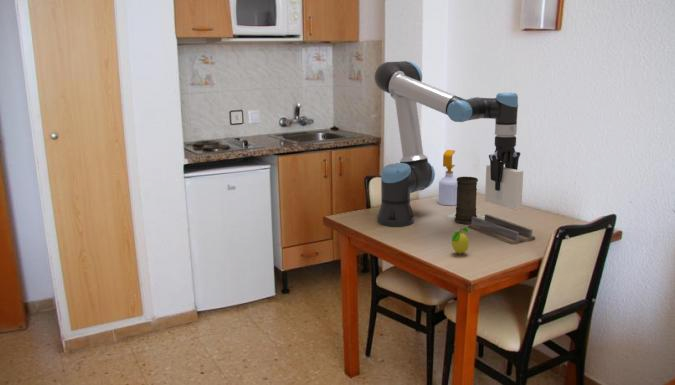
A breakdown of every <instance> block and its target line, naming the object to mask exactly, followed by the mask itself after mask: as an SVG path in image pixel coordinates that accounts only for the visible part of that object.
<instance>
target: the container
mask: <svg viewBox="0 0 675 385" xmlns="http://www.w3.org/2000/svg"><path fill="white" fill-rule="evenodd" d="M456 179H457V184H458V185H457V205H456V206H455V214H454V216H455V217H454V222H455V223H457V224H460V225H461V224H462V225H470V224H472V217H477V216H478V215H477V190H478V189H477V187H478V186H477V185H478V182H479V179H478V178H477V177H474V176H458V177H457V178H456ZM477 218H478V217H477Z"/></svg>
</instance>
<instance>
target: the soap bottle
mask: <svg viewBox="0 0 675 385" xmlns="http://www.w3.org/2000/svg"><path fill="white" fill-rule="evenodd" d="M455 152H456V150H455V149H447V150H446V151H445V152H444V153H443V156H442V167H446V169H447V170H446V171H445V176H444V177H441V179H439V181H438V201H437V202H438V203H439V205H442V206H448V207H449V206H450V207H451V206H457V185H458V184H457V178H456V177H455V176H454V171H453V170H452V169H453V168H454V167H455V166H456V165H455V164H453V155H454V154H455Z"/></svg>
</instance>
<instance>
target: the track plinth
mask: <svg viewBox="0 0 675 385" xmlns="http://www.w3.org/2000/svg"><path fill="white" fill-rule="evenodd" d="M467 225H468V226H467V228H468V229H471V230H474V231H477V232H480V233H482V234H485V235H487V236H490V237H493V238H495V239H497V240H500V241H502V242H506V243H508V244H510V245H516V244H521V243H525V242H529V241H530V242H531V241H534V240H536V237H535V235H534V236H533V229H531V228H528V227H525V226H522V225H520V224H516V223H514V222H510V221H507V220H505V219H501V218H500V217H496V216H493V215H490V214H487V213H486V214H484V219H482V218H479V217H472V224H467Z"/></svg>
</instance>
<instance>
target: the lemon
mask: <svg viewBox="0 0 675 385" xmlns="http://www.w3.org/2000/svg"><path fill="white" fill-rule="evenodd" d="M462 231H463V232H465V234H464V233H463V232H462ZM466 234H470V231H469V227H468V226H467V227H463V228H462V227H460V230H459V231H456V232H454V233H453V235H452V237H451V246H452V249H453V250H454V252H456V253H457V254H458V255H462V253H465V252H467V251H468V250H469V246H470V244H469V238H468V236H467V235H466Z"/></svg>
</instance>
